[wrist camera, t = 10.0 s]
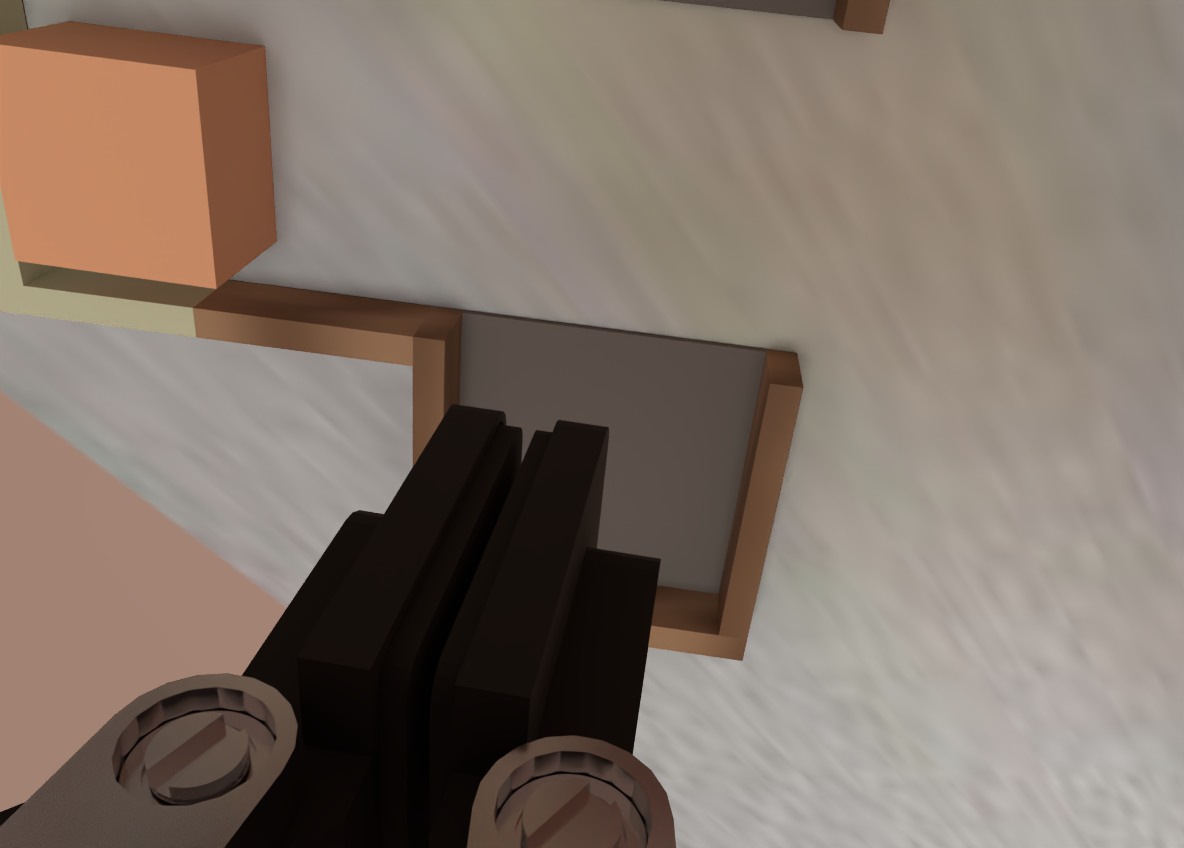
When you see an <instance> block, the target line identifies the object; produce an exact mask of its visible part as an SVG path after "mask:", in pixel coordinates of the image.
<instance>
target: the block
mask: <svg viewBox="0 0 1184 848" xmlns="http://www.w3.org/2000/svg"><path fill="white" fill-rule="evenodd" d="M0 187H1V192H2V197H3V202H4V207H5V212H6V217H7V222H8V227H9V232H10V237H11V242H12V247H13V251H14V256H15V261H21V262H28V263H35V264H42V265H49V266H56V267H63V268H70V269H78V270H85V271H92V272H99V273H106V274H113V275H120V276H127V277H134V278H142V279H149V280H156V281H163V282H170V283H177V284H184V285H191V286H198V287H205V288H213V289H217V288H218V287H220V286H221V285H222V284H223V283H225V282H226V281H227V280H228V279H230V278H231V277H232V276H234V275H235V274H236V273H237V272H239V271H240V270H241V269H242V268H244V267H245V266H246V265H247V264H249V263H250V262H251V261H252V260H254V259H255V258H256V257H257V256H259V255H260V254H261V253H262V252H264V251H265V250H266V249H268V248H269V247H270V246H271V245H273V244H274V243H275V242H276V241H277V237H276V221H275V205H274V188H273V172H272V156H271V139H270V123H269V107H268V90H267V74H266V58H265V46H259V45H251V44H243V43H235V42H228V41H220V40H212V39H204V38H196V37H188V36H180V35H173V34H165V33H157V32H149V31H141V30H133V29H126V28H118V27H110V26H102V25H94V24H86V23H79V22H71V21H68V22H63V23H58V24H53V25H48V26H43V27H38V28H33V29H28V30H23V31H18V32H13V33H8V34H3V35H0Z"/></svg>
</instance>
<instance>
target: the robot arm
mask: <svg viewBox="0 0 1184 848" xmlns="http://www.w3.org/2000/svg"><path fill="white" fill-rule="evenodd" d="M608 442H609V427H605V426H598V425H592V424H585V423H578V422H571V421H565V420H557V422H556V424H555V427H554V429H553V432H548V431H541V430H536V431H535V433H534V435H533V437H532V440H531V442H530V444H529V447H528V449H527V452H526V454H525V456H524V459H523V461H522V444H523V432H522V428H521V427H515V426H508V425H506V415H505V413H504V411H498V410H491V409H484V408H478V407H471V406H464V405H458V404H452V405H451V406H450V408H449V409H448V411H447V412H446V414H445V416H444V417H443V419H442V420H441V422H440V424H439V425H438V427H437V429H436V430H435V432H434V434H433V435H432V437H431V438H430V440H429V442H428V443H427V445H426V447H425V448H424V450H423V451H422V453H421V455H420V456H419V458H418V460H417V461H416V463H415V465H414V466H413V468H412V469H411V471H410V473H409V474H408V476H407V478H406V479H405V481H404V482H403V484H402V486H401V487H400V489H399V491H398V492H397V494H396V496H395V497H394V499H393V500H392V502H391V504H390V505H389V507H388V509H387V510H386V512H385V513H384V514H379V513H373V512H367V511H361V510H359V511H356V512H353V513H352V514H351V515H350V516H349V517H348V518H347V520H346V521H345V522H344V524H343V525H342V527H341V528H340V530H339V531H338V533H337V534H336V536H335V537H334V539H333V540H332V542H331V543H330V545H329V546H328V548H327V549H326V551H325V552H324V554H323V555H322V557H321V558H320V560H319V561H318V563H317V564H316V566H315V567H314V569H313V570H312V572H311V573H310V575H309V576H308V577H307V579H306V580H305V582H304V583H303V585H302V586H301V588H300V589H299V591H298V592H297V594H296V595H295V597H294V598H293V600H292V601H291V603H290V604H289V606H288V607H287V609H286V610H285V612H284V614H283V615H282V617H281V618H280V619H279V621H278V622H277V624H276V625H275V627H274V628H273V630H272V631H271V633H270V634H269V636H268V637H267V639H266V640H265V642H264V643H263V645H262V646H261V648H260V649H259V651H258V652H257V654H256V655H255V657H254V658H253V660H252V661H251V663H250V664H249V666H248V667H247V669H246V670H245V672H244V673H243V675H242V676H239V675H233V674H210V675H209V674H208V675H196V676H192V677H188V678H184V679H180V680H177V681H173V682H169V683H166V684H164V685H162V686H160V687H158V688H156V689H153V690H151V691H149V692H147V693H145V694H143V695H141V696H139V697H138V698H136V699H135V700H134V701H132V702H131V703H130V704H128V705H127V706H126V707H125V708H123V709H122V710H121V711H119V712H118V713H117V714H115V715H114V716H113V717H112V718H111V719H110V720H109V721H108V722H107V723H106V724H105V725H104V726H103V727H102V728H101V729H100V730H99V731H98V732H97V733H96V734H95V735H94V736H93V737H92V738H91V739H90V740H88V742H87V743H86V744H84V745H83V746H82V747H81V749H79V750H78V751H77V752H76V753H75V754H74V755H73V756H72V757H71V758H70V759H69V760H68V761H67V762H66V763H65V764H64V765H63V766H62V767H61V768H60V769H59V770H58V771H57V772H56V773H55V774H54V775H53V776H52V777H51V778H50V779H49V780H48V781H46V783H45V784H44V785H43V786H42V787H41V788H39V789H38V790H37V791H36V792H35V793H34V794H33V795H32V796H31V797H30V798H29V799H28V800H27V801H26V802H25V803H22V804H20V805H17V806H15V807H12V808H10V809H7V810H4V811H2V812H0V848H676V842H675V831H674V819H673V815H672V811H671V808H670V804H669V800H668V797H667V793H666V792H665V790H664V789H663V787H662V786H661V784H660V783H659V781H658V780H657V778H656V777H655V775H654V774H653V772H652V771H651V770H650V769H649V768H648V767H647V766H645V765H644V764H643V763H642V762H640V761H639V760H638V759H637V758H636V757H634V756H633V748H634V741H635V734H636V727H637V721H638V714H639V707H640V700H641V693H642V686H643V679H644V672H645V666H646V659H647V652H648V645H649V638H650V631H651V624H652V617H653V611H654V604H655V597H656V590H657V583H658V576H659V569H660V562H661V559H659V558H653V557H647V556H641V555H634V554H628V553H622V552H616V551H609V550H603V549H597V543H598V533H599V524H600V515H601V506H602V497H603V488H604V479H605V470H606V461H607V452H608ZM521 461H522V463H521Z"/></svg>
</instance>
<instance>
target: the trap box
mask: <svg viewBox="0 0 1184 848" xmlns="http://www.w3.org/2000/svg"><path fill="white" fill-rule="evenodd" d="M663 1H672V2H681V3H690V4H699V5H708V6H717V7H726V8H735V9H744V10H753V11H762V12H771V13H780V14H789V15H798V16H807V17H816V18H825V19H833V20H834V21H835V22H836V24H837V25H838V26H839V27H840V28H841V29H842V30H849V31H858V32H867V33H876V34H883V30H884V25H885V21H886V16H887V12H888V7H889V3H890V0H663ZM23 30H27V25H26V20H25V14H24V9H23V3H22V0H0V35H3V34H8V33H13V32H18V31H23ZM0 311H2V312H9V313H17V314H25V315H32V316H40V317H47V318H55V319H62V320H70V321H77V322H85V323H92V324H100V325H108V326H115V327H123V328H130V329H138V330H145V331H153V332H160V333H168V334H175V335H183V336H191V337H198V338H206V339H213V340H221V341H228V342H236V343H243V344H251V345H258V346H266V347H274V348H281V349H289V350H296V351H304V352H311V353H319V354H326V355H334V356H341V357H349V358H357V359H364V360H372V361H379V362H387V363H394V364H402V365H409V366H413V466H414V465H415V463H416V461H417V460H418V458H419V456H420V455H421V453H422V451H423V450H424V448H425V447H426V445H427V443H428V442H429V440H430V438H431V437H432V435H433V434H434V432H435V430H436V429H437V427H438V425H439V424H440V422H441V420H442V419H443V417H444V416H445V414H446V412H447V411H448V409H449V408H450V406H451V405H452V404H458V405H464V406H471V407H478V408H484V409H491V410H498V411H504V413H505V415H506V425H508V426H515V427H521V428H522V432H523V444H522V461H523V459H524V456H525V454H526V452H527V449H528V447H529V444H530V442H531V440H532V437H533V435H534V433H535V431H536V430H541V431H548V432H553V429H554V427H555V424H556V422H557V420H565V421H571V422H578V423H585V424H592V425H598V426H605V427H609V442H608V452H607V461H606V470H605V479H604V488H603V497H602V506H601V515H600V524H599V533H598V543H597V549H603V550H609V551H616V552H622V553H628V554H634V555H641V556H647V557H653V558H659V559H661V562H660V569H659V576H658V583H657V590H656V597H655V604H654V611H653V617H652V624H651V631H650V638H649V645H648V647H651V648H658V649H665V650H672V651H679V652H686V653H693V654H699V655H706V656H713V657H720V658H727V659H734V660H740V661H742V660H743V655H744V651H745V646H746V642H747V637H748V633H749V628H750V624H751V619H752V615H753V610H754V606H755V602H756V597H757V593H758V588H759V584H760V579H761V575H762V570H763V566H764V561H765V557H766V552H767V548H768V543H769V539H770V534H771V530H772V526H773V521H774V517H775V512H776V508H777V503H778V499H779V494H780V490H781V485H782V481H783V476H784V472H785V467H786V463H787V459H788V454H789V450H790V445H791V441H792V436H793V432H794V427H795V423H796V418H797V414H798V409H799V405H800V400H801V396H802V391H803V384H802V378H801V372H800V367H799V361H798V356H797V353H790V352H782V351H774V350H767V349H759V348H751V347H743V346H736V345H728V344H720V343H712V342H705V341H697V340H689V339H681V338H674V337H666V336H658V335H650V334H643V333H635V332H627V331H620V330H612V329H604V328H596V327H589V326H581V325H573V324H565V323H558V322H550V321H542V320H534V319H527V318H519V317H511V316H503V315H496V314H488V313H480V312H472V311H465V310H457V309H449V308H441V307H434V306H426V305H418V304H410V303H403V302H395V301H387V300H379V299H372V298H364V297H356V296H348V295H341V294H333V293H325V292H317V291H310V290H302V289H294V288H286V287H279V286H271V285H263V284H255V283H248V282H240V281H232V280H227V281H226V282H225V283H223V284H222V285H221V286H220V287H218V288H217V289H213V288H205V287H198V286H191V285H184V284H177V283H170V282H163V281H156V280H149V279H142V278H134V277H127V276H120V275H113V274H106V273H99V272H92V271H85V270H78V269H70V268H63V267H56V266H49V265H42V264H35V263H28V262H21V261H15V256H14V251H13V247H12V242H11V237H10V232H9V227H8V222H7V217H6V212H5V207H4V202H3V197H2V192H1V187H0ZM522 461H521V463H522Z"/></svg>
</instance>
